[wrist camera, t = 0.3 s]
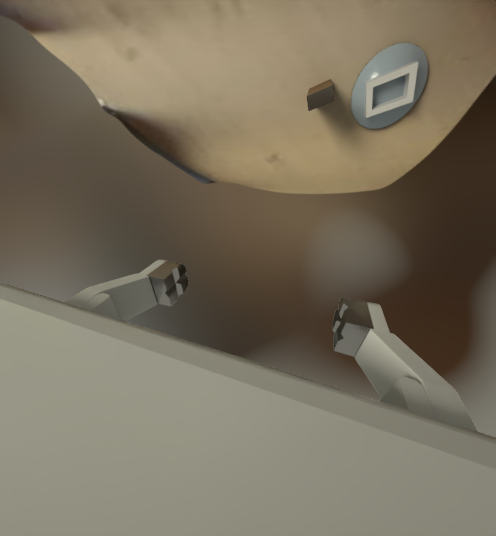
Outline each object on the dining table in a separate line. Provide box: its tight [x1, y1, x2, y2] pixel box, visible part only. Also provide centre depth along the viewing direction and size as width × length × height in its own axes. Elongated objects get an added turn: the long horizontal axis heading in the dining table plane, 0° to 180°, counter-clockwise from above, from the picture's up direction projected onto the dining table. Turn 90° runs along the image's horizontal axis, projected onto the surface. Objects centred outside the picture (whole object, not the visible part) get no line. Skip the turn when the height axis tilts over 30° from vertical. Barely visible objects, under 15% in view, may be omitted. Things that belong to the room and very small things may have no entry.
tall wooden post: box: [307, 79, 334, 111], centre depth 36 cm, size 2×4×12 cm, turn 111°
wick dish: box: [351, 43, 428, 129], centre depth 37 cm, size 12×12×4 cm
